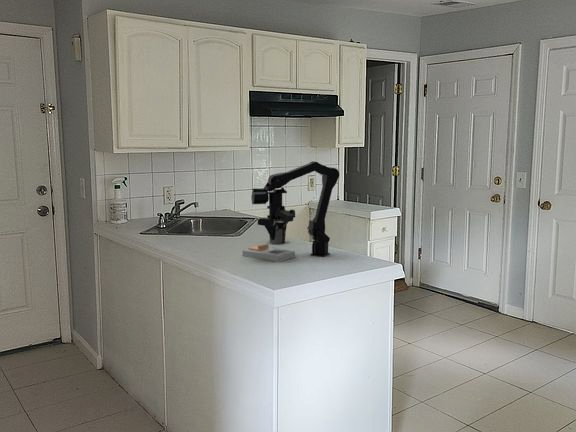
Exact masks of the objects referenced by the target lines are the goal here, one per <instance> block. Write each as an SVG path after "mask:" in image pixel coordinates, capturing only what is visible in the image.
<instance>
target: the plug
mask: <svg viewBox="0 0 576 432" xmlns="http://www.w3.org/2000/svg"><path fill="white" fill-rule="evenodd" d="M273 243H274V245H279V244H278V243H282V229H279V228H278V225H277V227H276V228H275V238H274V240H272V239H271V237H270V236H269V244H273Z"/></svg>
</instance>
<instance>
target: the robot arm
mask: <svg viewBox="0 0 576 432" xmlns="http://www.w3.org/2000/svg"><path fill="white" fill-rule="evenodd" d="M313 172H314V173H318V174H319V175H321V183H322V188H321V192H320V194H319V199H318V204H317V208H316V211H315V215H314V218H313V219H312V220H311V219H309V221H308V226H307V227H306V228H307V232H308V235H309V236H310V237H311V238H312V244H311V253H310V255H311V256H316V257H326V256H329V255H331V253H330V252H329V242H330V240H331V237H329V236H328V235H327V234H326V217H327V212H328V207H329V203H330V200H331V196H332V192H333V189H334V187H335V186H336V185H337V182H338V180H339V178H340V170H338V168H336V167H331V166H327V165H324V164H321V163H320V162H318V161H314V160H312V161H310V162H309V163H306V164H304V165H301V166H299V167H296V168H294V169H291V170H289V171H285V172H278V173H274V174H271V175H269V177H268V179H267V182H266V184H265V185H264V187H263V188H256V187H255V188H254V187H253V188H252V191H251V205H266V204H267V203H269V204H268V205H267V206H266V209H268V210H269V211H268V215H267V217H259V218H258V220H257V225H258V226H263V227H264V228H265V230H266V231H267V233H268V235H269V238H270V237H271V239H272V240H274V238H275V228H276V227H277V225H278V228H279V229H282V231H283V228H284V226H285V225H286V224H287V225H288V224H289V223H290V222H293V221H294V218H296V210H295V209H289V210H287V209H286V206H285V205H283V194H288V191H287V190H286V189H285V188H284V186H286V185H287V184H288V183H290V182H291V181H293V180H295V179H297V178H301V177H303V176H305V175H308V174H310V173H313Z"/></svg>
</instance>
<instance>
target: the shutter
mask: <svg viewBox="0 0 576 432" xmlns="http://www.w3.org/2000/svg"><path fill="white" fill-rule="evenodd" d="M247 249H249V250H256V251H262V250H266V249H269V243H264V244H260V245H254V246H250V247H248V248H247Z"/></svg>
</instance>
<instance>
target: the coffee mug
mask: <svg viewBox="0 0 576 432" xmlns="http://www.w3.org/2000/svg"><path fill="white" fill-rule="evenodd" d="M287 226H288V224H286V225H285V226H284V228H283V231H282V243H278V244H277V245H283V244H285V243H286V234H287ZM272 244H274V243H272ZM274 245H275V244H274Z"/></svg>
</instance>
